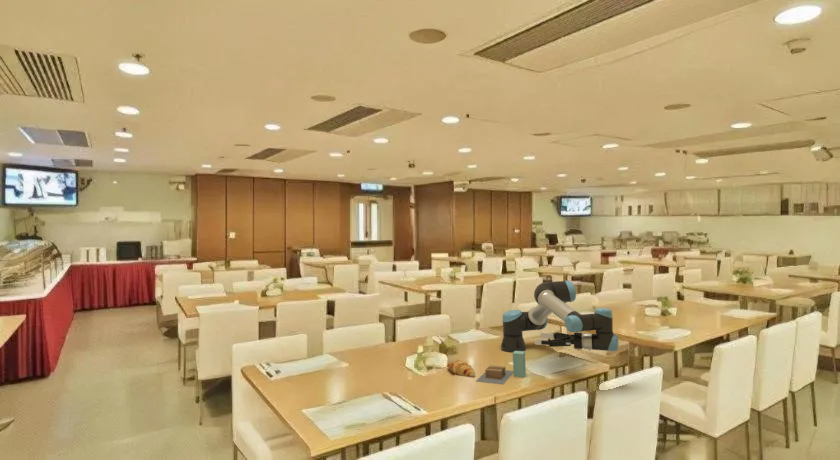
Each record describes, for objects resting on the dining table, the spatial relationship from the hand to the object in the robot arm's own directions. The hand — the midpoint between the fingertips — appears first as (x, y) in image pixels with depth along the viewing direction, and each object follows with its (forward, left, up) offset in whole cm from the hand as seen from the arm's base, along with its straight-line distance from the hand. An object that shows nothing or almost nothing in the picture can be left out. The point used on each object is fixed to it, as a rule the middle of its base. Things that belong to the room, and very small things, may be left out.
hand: (537, 338), depth 228 cm
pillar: (0, -10, -20) cm, 22 cm away
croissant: (+5, -40, -20) cm, 45 cm away
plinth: (+5, -21, -19) cm, 29 cm away
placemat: (+5, -21, -20) cm, 29 cm away
